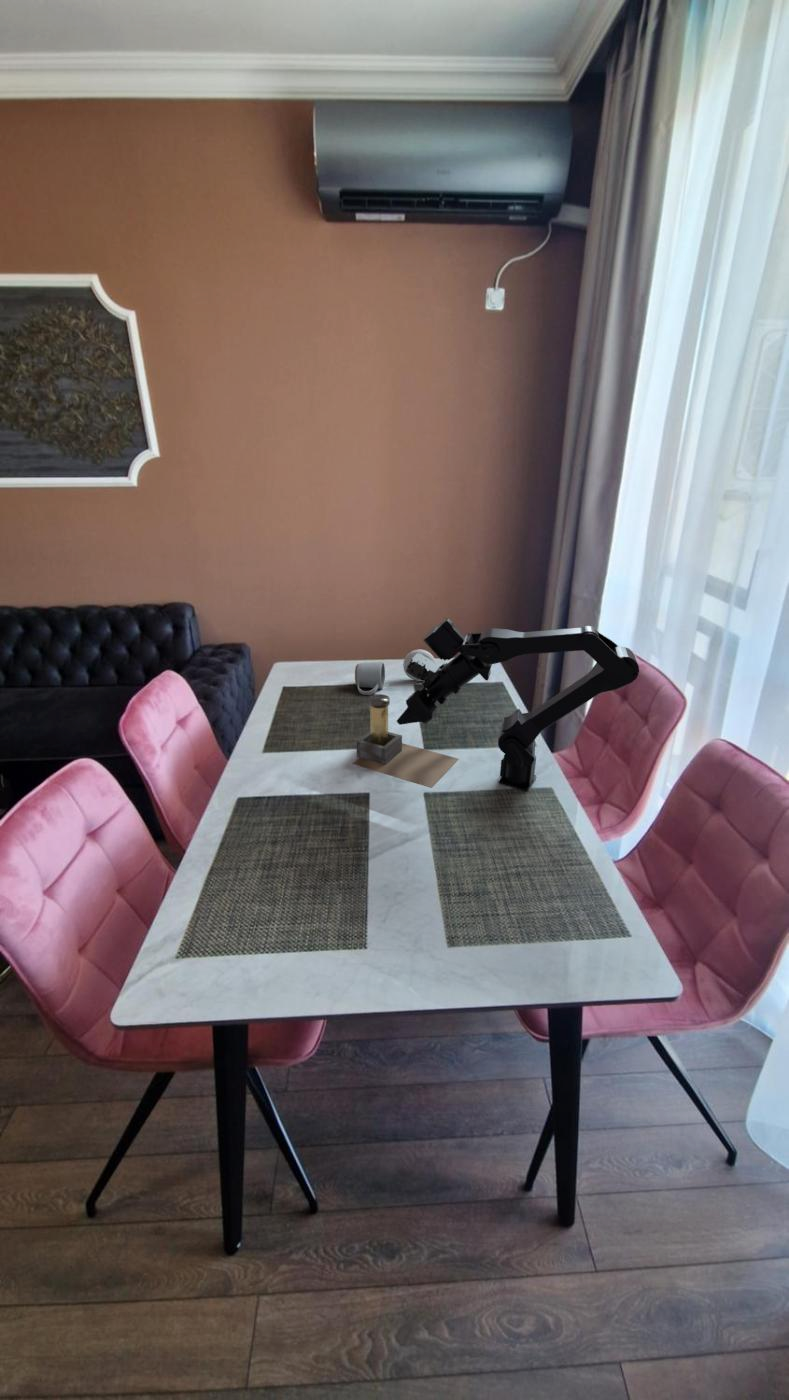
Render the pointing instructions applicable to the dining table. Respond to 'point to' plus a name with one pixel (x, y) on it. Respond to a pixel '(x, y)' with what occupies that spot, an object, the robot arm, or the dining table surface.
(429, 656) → the donut
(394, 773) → the board with square socket
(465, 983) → the dining table surface
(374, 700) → the brass peg
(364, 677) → the ceramic mug
